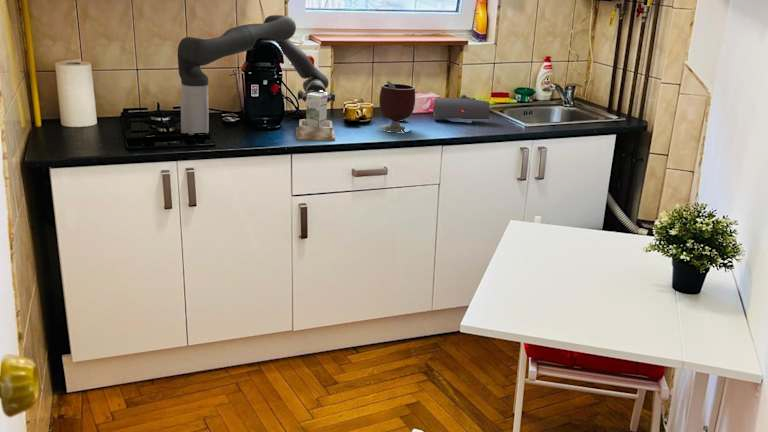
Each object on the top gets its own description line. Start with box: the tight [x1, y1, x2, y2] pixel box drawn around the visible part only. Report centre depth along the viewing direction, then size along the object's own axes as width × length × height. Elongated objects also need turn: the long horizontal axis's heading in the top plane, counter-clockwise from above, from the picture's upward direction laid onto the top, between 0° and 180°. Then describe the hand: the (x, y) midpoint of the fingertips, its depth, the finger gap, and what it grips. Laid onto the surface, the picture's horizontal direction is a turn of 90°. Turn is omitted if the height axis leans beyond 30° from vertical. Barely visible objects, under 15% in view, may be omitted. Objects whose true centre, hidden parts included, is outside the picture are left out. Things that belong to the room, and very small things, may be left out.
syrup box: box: [305, 92, 328, 127], centre depth 282 cm, size 6×6×14 cm
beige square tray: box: [295, 118, 336, 141], centre depth 284 cm, size 14×14×4 cm
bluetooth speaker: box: [433, 97, 491, 120], centre depth 324 cm, size 23×9×10 cm, turn 90°
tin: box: [350, 98, 364, 104], centre depth 314 cm, size 15×3×8 cm, turn 168°
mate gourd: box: [378, 80, 416, 132], centre depth 299 cm, size 16×14×20 cm
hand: (316, 99), depth 289 cm, fingers open, 8 cm apart
